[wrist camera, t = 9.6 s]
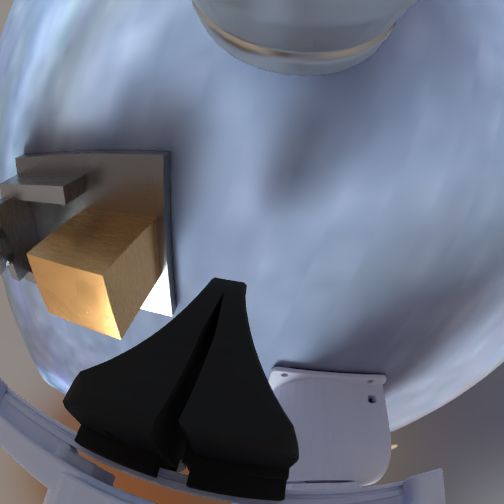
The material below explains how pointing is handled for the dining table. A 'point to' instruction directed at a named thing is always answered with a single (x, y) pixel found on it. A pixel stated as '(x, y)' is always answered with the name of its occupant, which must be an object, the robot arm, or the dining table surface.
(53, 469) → the robot arm
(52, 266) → the block
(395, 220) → the dining table surface
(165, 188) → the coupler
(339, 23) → the plastic bottle
